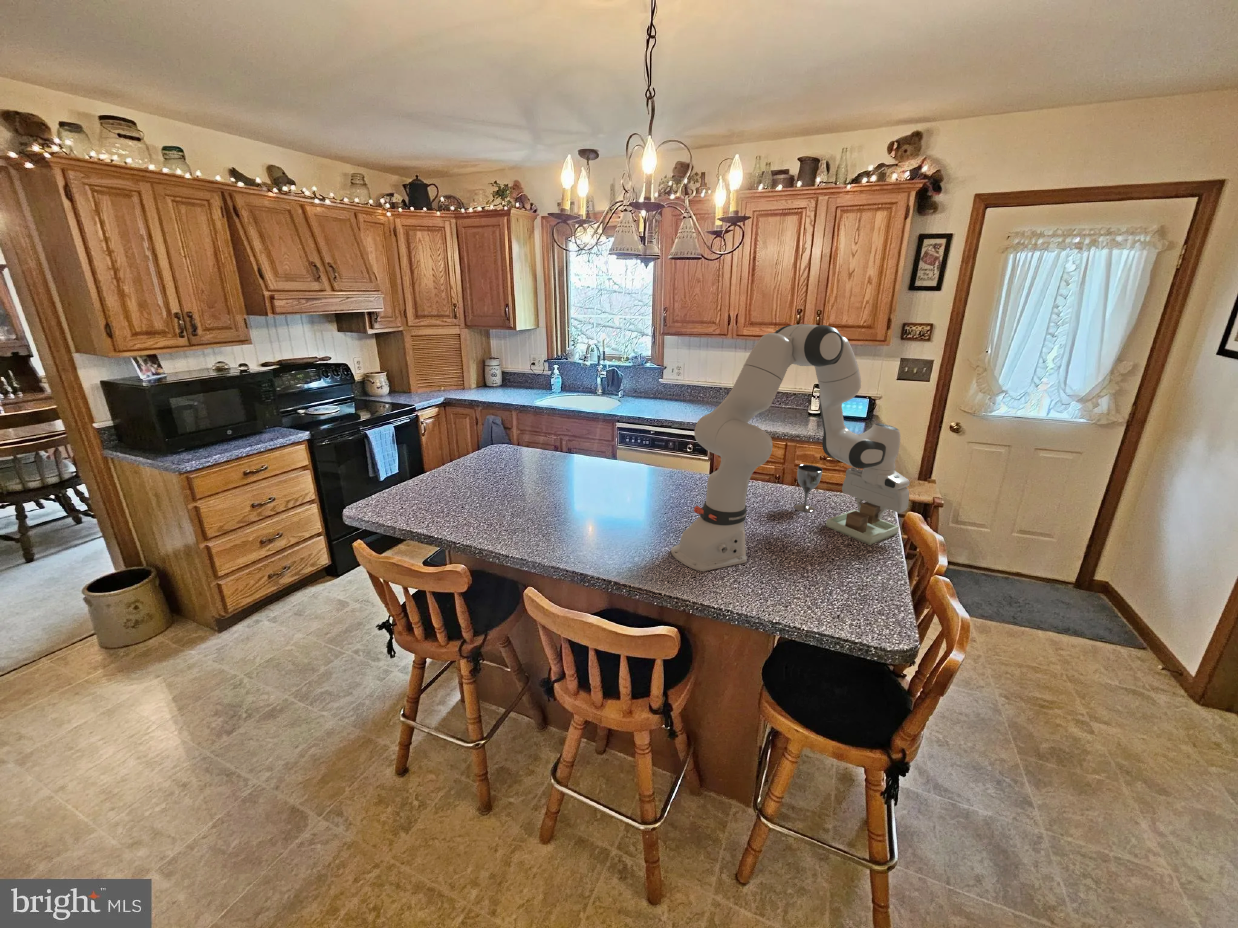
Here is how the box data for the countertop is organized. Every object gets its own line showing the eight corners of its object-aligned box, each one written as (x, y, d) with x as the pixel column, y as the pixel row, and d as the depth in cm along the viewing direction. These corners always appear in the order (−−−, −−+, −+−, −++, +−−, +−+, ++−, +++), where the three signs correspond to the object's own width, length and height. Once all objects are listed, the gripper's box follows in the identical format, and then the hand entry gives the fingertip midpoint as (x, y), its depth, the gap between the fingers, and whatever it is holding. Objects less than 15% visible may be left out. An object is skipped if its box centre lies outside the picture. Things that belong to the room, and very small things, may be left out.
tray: (869, 545, 150) (871, 537, 149) (825, 526, 162) (827, 519, 161) (897, 533, 157) (899, 526, 157) (853, 516, 170) (854, 509, 169)
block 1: (857, 535, 155) (860, 518, 153) (844, 529, 158) (847, 513, 156) (865, 531, 157) (868, 515, 155) (852, 526, 161) (855, 510, 159)
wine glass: (818, 513, 171) (824, 472, 167) (794, 511, 173) (799, 470, 168) (814, 504, 179) (820, 465, 174) (791, 502, 180) (796, 463, 175)
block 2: (871, 524, 158) (874, 508, 156) (858, 519, 161) (861, 503, 160) (879, 521, 160) (882, 505, 158) (866, 516, 164) (869, 500, 162)
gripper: (841, 467, 162) (835, 506, 167) (904, 486, 146) (895, 529, 150) (853, 464, 166) (846, 502, 170) (915, 482, 149) (906, 524, 154)
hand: (869, 515), depth 160 cm, fingers closed on block 2, 4 cm apart
